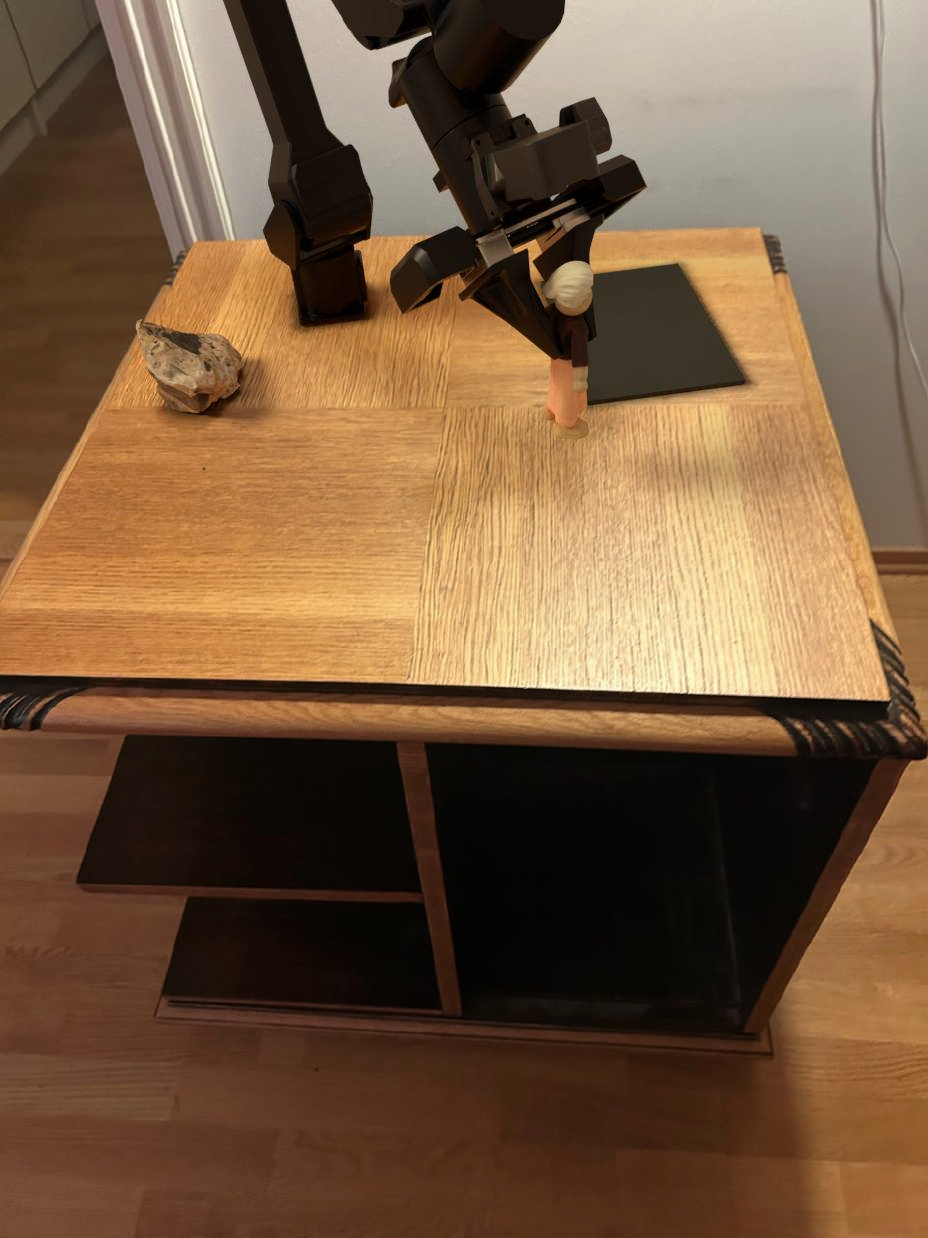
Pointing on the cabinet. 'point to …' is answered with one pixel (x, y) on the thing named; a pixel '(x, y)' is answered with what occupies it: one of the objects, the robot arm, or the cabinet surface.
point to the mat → (652, 337)
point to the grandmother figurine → (569, 349)
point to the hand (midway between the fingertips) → (575, 349)
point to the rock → (189, 366)
